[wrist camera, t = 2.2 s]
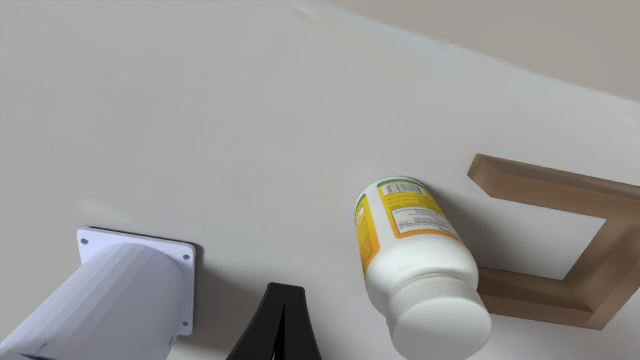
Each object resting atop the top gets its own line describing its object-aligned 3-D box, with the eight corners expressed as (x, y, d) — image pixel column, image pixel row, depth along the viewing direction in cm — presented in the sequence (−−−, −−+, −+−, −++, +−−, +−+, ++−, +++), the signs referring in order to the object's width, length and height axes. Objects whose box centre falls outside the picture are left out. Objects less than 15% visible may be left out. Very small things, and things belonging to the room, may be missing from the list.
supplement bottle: (403, 158, 19) (473, 259, 10) (445, 213, 21) (536, 340, 12) (336, 205, 20) (348, 328, 12) (381, 253, 22) (420, 391, 14)
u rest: (569, 297, 24) (600, 330, 21) (421, 273, 23) (435, 304, 20) (652, 189, 20) (705, 212, 17) (476, 153, 19) (503, 173, 16)
